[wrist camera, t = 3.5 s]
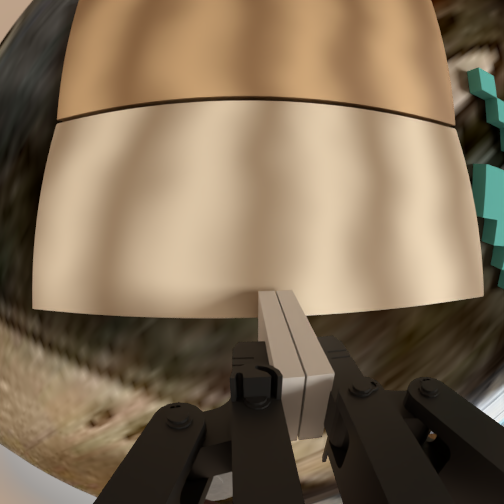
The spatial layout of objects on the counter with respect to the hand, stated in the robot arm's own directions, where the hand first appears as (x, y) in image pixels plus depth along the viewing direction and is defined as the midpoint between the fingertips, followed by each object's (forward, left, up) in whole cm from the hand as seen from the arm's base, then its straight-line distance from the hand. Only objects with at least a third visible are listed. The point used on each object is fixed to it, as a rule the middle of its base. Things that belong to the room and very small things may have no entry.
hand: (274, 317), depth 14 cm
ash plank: (0, -5, -4) cm, 6 cm away
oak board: (0, -17, -7) cm, 19 cm away
